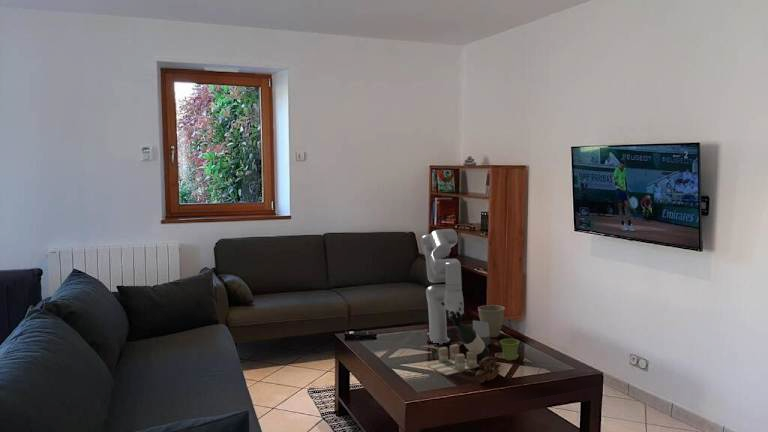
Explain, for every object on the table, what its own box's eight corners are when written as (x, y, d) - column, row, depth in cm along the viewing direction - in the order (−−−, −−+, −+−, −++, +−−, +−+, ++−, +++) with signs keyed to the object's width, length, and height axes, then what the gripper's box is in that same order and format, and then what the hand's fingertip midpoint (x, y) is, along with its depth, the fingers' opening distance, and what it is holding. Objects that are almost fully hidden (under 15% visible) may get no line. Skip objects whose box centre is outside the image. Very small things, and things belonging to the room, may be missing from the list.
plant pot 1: (508, 338, 321) (507, 310, 320) (481, 340, 321) (480, 311, 320) (502, 331, 336) (501, 304, 334) (477, 332, 336) (476, 305, 335)
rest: (426, 366, 282) (426, 351, 282) (459, 358, 292) (459, 343, 292) (446, 375, 269) (445, 359, 268) (480, 366, 278) (479, 351, 278)
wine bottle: (485, 344, 294) (454, 305, 282) (492, 352, 286) (460, 312, 274) (472, 354, 294) (440, 315, 282) (479, 363, 286) (447, 323, 274)
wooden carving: (484, 386, 253) (483, 364, 252) (475, 384, 256) (474, 362, 255) (502, 375, 265) (502, 354, 265) (493, 373, 268) (493, 352, 268)
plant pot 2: (521, 356, 290) (521, 339, 289) (517, 362, 282) (517, 345, 281) (503, 354, 294) (502, 338, 293) (498, 360, 285) (498, 343, 285)
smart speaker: (493, 344, 312) (492, 318, 311) (484, 348, 305) (483, 322, 304) (478, 341, 318) (477, 316, 317) (469, 345, 312) (468, 320, 311)
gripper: (437, 285, 284) (438, 322, 285) (457, 290, 270) (459, 329, 271) (449, 283, 287) (451, 320, 289) (470, 288, 273) (472, 326, 275)
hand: (455, 324), depth 280 cm, fingers closed on wine bottle, 3 cm apart
